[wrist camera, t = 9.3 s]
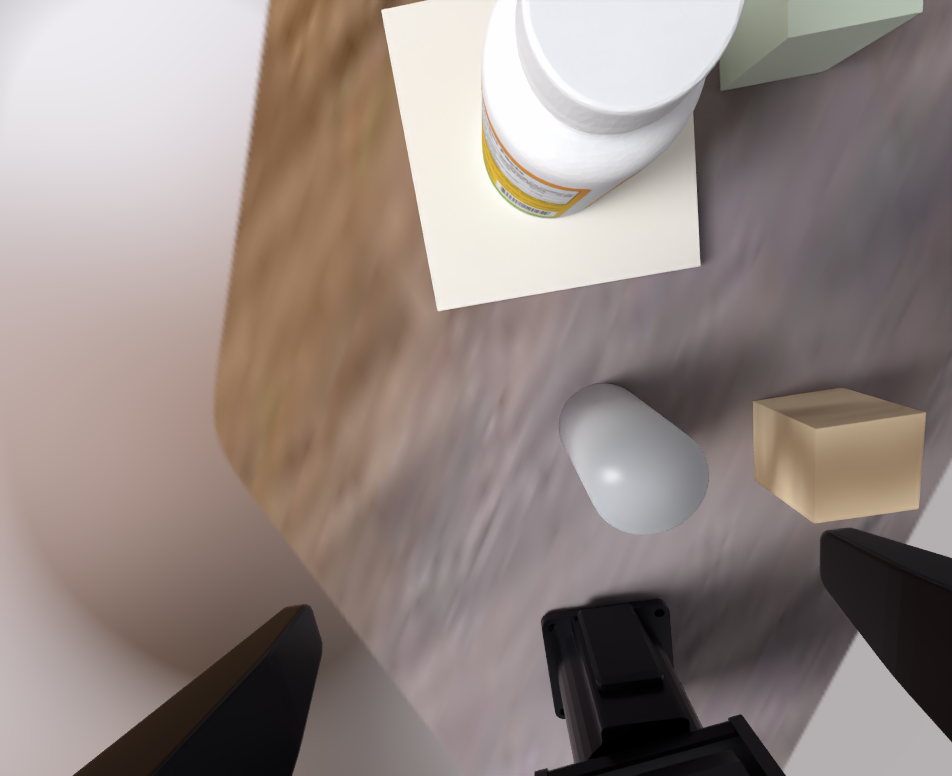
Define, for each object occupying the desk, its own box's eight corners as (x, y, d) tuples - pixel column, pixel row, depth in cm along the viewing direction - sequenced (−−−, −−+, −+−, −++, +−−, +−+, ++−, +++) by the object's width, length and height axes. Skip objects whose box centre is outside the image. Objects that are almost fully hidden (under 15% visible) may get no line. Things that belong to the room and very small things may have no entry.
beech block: (838, 466, 21) (918, 508, 17) (753, 479, 21) (814, 523, 17) (840, 387, 20) (926, 412, 16) (752, 400, 20) (815, 429, 17)
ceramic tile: (691, 266, 19) (700, 265, 18) (439, 309, 19) (437, 310, 19) (675, -37, 16) (685, -53, 16) (385, 22, 17) (381, 10, 16)
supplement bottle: (605, 48, 16) (778, -268, 7) (631, 199, 18) (807, 106, 8) (465, 91, 17) (445, -152, 7) (500, 236, 18) (521, 188, 8)
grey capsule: (647, 457, 21) (711, 525, 15) (564, 470, 21) (595, 542, 15) (640, 376, 20) (706, 416, 14) (553, 391, 20) (582, 435, 14)
